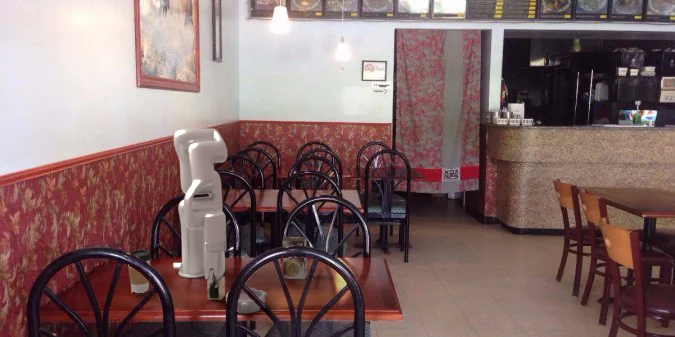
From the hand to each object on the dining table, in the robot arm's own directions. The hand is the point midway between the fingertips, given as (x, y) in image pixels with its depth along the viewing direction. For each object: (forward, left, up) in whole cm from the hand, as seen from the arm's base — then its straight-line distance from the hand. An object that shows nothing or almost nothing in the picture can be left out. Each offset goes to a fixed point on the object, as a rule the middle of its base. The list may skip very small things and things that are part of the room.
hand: (216, 294), depth 200 cm
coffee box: (+25, +26, -1) cm, 36 cm away
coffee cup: (-30, +3, -1) cm, 30 cm away
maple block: (0, 0, -1) cm, 1 cm away
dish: (+13, -8, -1) cm, 15 cm away
